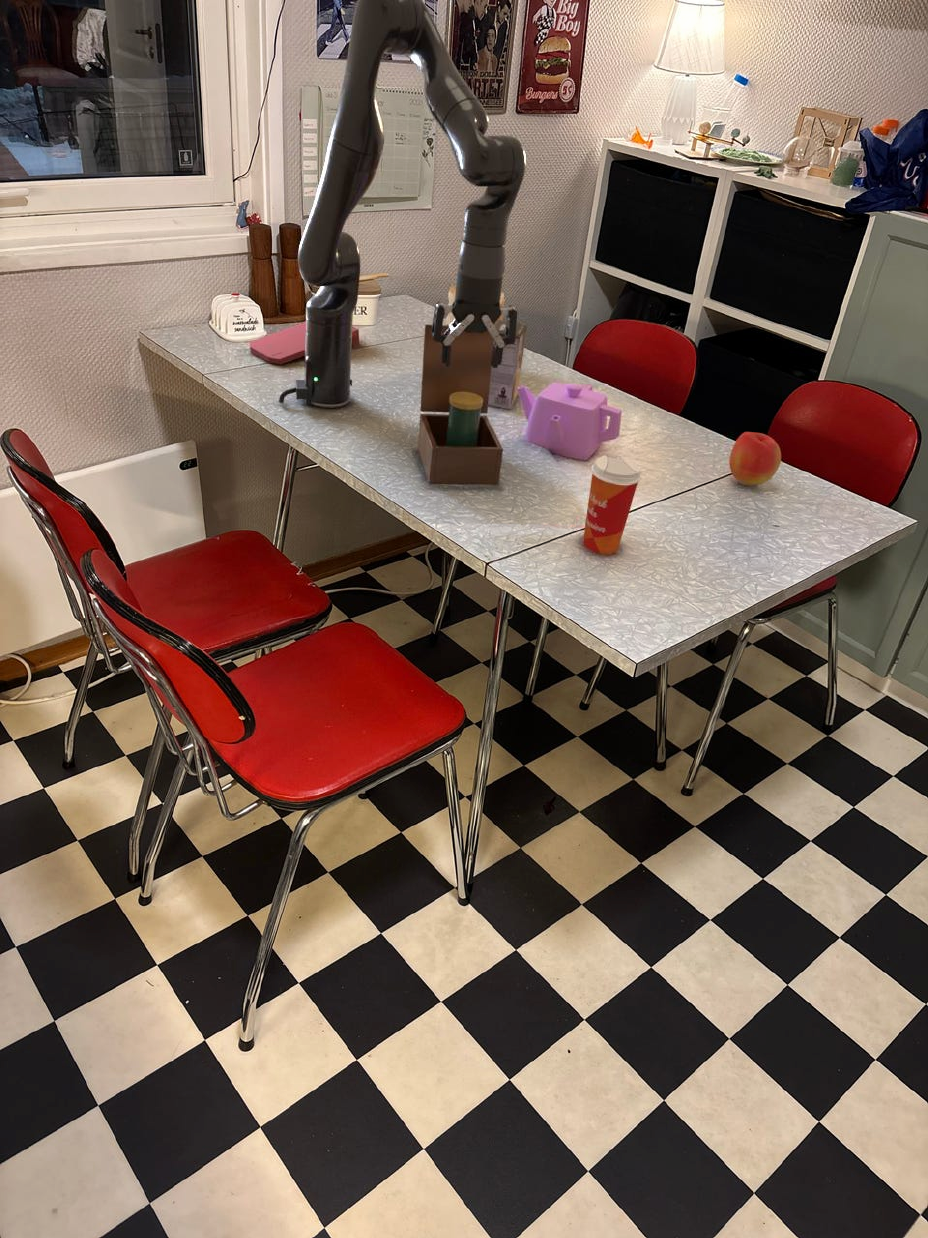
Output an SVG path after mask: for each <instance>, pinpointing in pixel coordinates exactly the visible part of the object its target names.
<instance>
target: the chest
mask: <svg viewBox="0 0 928 1238" xmlns="http://www.w3.org/2000/svg"><path fill="white" fill-rule="evenodd" d="M448 418H449V413H448V414H446V413H443V414H442V413H420V416H419V427H418V439H417V451H418V454H419V457H420V461H421V463H422V466H423V468H424V473H425V476H426V479H427V481H428V484H429V485H474V486H475V485H477V486H478V485H479V486H480V485H482V486H483V485H484V486H485V485H488V486H491V485H492V486H498V485H499V481H500V475H501V467H502V462H503V461H502V459H503V454H504V453H503V452H504V448H503V446H502V444H501V442H500V440H499V437H498V436H497V435H496V432H495V429H494V427H493V426H492V424H491V421H490V420H489V417H488V416H487V415H482V414H480V421H479V429H478V437H477V445H476V447H460V446H446V437H447V427H448Z"/></svg>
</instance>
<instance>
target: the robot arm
mask: <svg viewBox="0 0 928 1238" xmlns="http://www.w3.org/2000/svg"><path fill="white" fill-rule="evenodd" d="M351 23H352V24H351V29H350V36H349V44H348V51H347V57H346V65H345V71H344V76H343V81H342V82H343V83H342V86H341V92H340V95H339V101H338V105H337V109H336V114H335V118H334V121H333V125H332V128H331V133H330V136H329V141H328V145H327V148H326V154H325V160H324V165H323V168H322V172H321V176H320V180H319V184H318V187H317V191H316V195H315V199H314V202H313V206H312V209H311V212H310V214H309V218H308V220H307V223H306V226H305V229H304V231H303V235H302V237H301V240H300V242H299V243H300V244H299V247H298V253H297V265H298V266H297V267H298V271H299V273H300V276H301V278H302V279H303V281H304V282H305V283H306V284H307V285H309V286H311V287H315V288H319V289H318V290H317V291H316V293H315V294H314V295H313V296H312V297H310V299H309V300H307V302H306V305H305V322H306V350H305V356H304V377H303V378H304V379H295V387H291V388H289V389H285V390H284V391H283V392H282V393H280V395H279V399H278V403H280V404H284V403H285V398H286V397H287V396H289V395H291V394H295V398H296V400H304V402H305V405H310V406H314V407H317V408H324V409H337V408H342V407H345V406H347V405H349V404H350V401H351V396H350V395H351V387H353V380H352V379H351V374H352V373H351V372H352V371H351V369H352V348H353V347H352V326H353V324H354V323H353V319H354V312H355V310H356V307H357V304H358V299H359V290H360V288H359V286H360V278H361V277H360V276H361V254H360V249H359V247H358V244H357V241H356V240H355V238H354V237H353V236H352V235H350V234H349V233H348V232H345V231H343V229H344V227H345V224H346V222H347V220H348V218H349V217H350V215H351V213H352V212H353V210H354V209H355V208H356V206H357V205H358V204H359V203H360V201H361V200H362V199H363V197H364V196H365V194H366V193H367V192H368V190H369V188H370V187H371V185H372V183H373V181H374V179H375V177H376V174H377V171H378V167H379V164H380V160H381V158H382V157H381V156H382V154H383V149H384V145H385V128H384V124H383V123H384V122H383V118H382V114H381V109H380V106H379V102H378V98H377V80H378V76H379V70H380V66H381V62H382V59H383V56H384V54H385V55H395V56H405V57H407V58H408V60H410V61H411V62H412V63H413V64H414V65H415V67H417V69H418V70H419V71H420V73H421V74H422V77H423V83H424V84H423V90H424V92H423V93H424V98H425V102H426V106H427V108H428V110H429V113H430V114H431V116H432V117H433V119H434V121H435V122H436V123H437V124H438V126H439V128H440V129H441V131H442V132H443V133H444V135H445V136H446V138H447V139H448V141H449V146H450V148H451V152H452V154H453V157H454V160H455V163H456V167H457V169H458V172H459V174H460V175H461V176H462V178H463V179H464V180H465V181H466V182H467V183H469V184H470V185H472V186H474V187H480V188H485V187H486V188H485V191H484V193H483V194H482V196H481V197H479V198H477V199H475V200H473V201H470V202H469V203H468V204H467V205H466V207H465V212H464V219H463V229H462V238H461V239H462V240H461V244H460V250H459V255H458V264H457V275H456V284H455V285H456V294H455V301H454V303H453V304H452V305H448V304H443V303H442V302H441V301H437V302H436V303H435V305H434V311H433V312H434V313H433V318H432V324H431V325H432V331H431V335H432V337H433V339H434V341H436V342H440V343H441V354H440V358H441V361H442V363H444V365H445V367H449V365H450V355H451V345H450V343H451V342H452V341H453V340H454V339H455V338H456V337H458V336H459V335H460V334H461V333H462V331H465V332H466V333H472V332H477V333H484V332H486V331H488V330H489V332H490V334H491V335H492V337H493V339H494V340H495V344H493V352H492V360H491V365H492V367H493V368H497V367H498V365H500V364H501V362H502V355H503V348H504V346H506V345H508V344H511V345H512V344H514V343H515V337H516V324H517V323H518V322H517V321H518V311H517V310H516V308H515V307H514V305H511V304H510V305H508V306H507V307H503V308H500V296H501V292H502V287H503V279H504V273H505V269H506V266H505V263H506V243H507V235H508V228H509V227H508V226H509V218H510V216H511V213H512V210H513V208H514V205H515V203H516V200H517V197H518V194H519V192H520V189H521V186H522V184H523V180H524V177H525V172H526V166H527V165H526V164H527V161H526V160H527V158H526V153H525V149H524V146H523V144H522V143H521V141H520V140H519V139H518V138H516V137H515V136H512V135H486V133H487V131H488V128H489V116H488V113H487V110H486V109H485V108H484V106H483V104H482V103H481V102H480V101H479V99H478V97H477V96H476V95H475V93H474V92H473V90H472V89H471V88H470V87H469V85H468V84H467V82H466V81H465V79H464V78H463V77H462V75H461V74H460V72H459V70H458V68H457V67H456V65H455V63H454V61H453V59H452V57H451V55H450V53H449V51H448V48H447V47H446V44H445V42H444V40H443V38H442V35H440V32H439V30H438V27H437V26H436V23H435V21H434V19H433V17H432V15H431V13H430V11H429V8H428V7H427V5H426V4H425V2H424V1H423V0H357V3H356V6H355V9H354V13H353V18H352V22H351ZM451 312H452V314H453V316H454V317H455V320H454V321H453V322H452V323H451V324H450V325H449V328H448V329H447V330H446V331H445V332H444V334H442V333H441V331H442V325H444V319H446V318H447V316H448V314H449V313H451ZM501 315H503V316H502V319H504V321H506V334H505V335H504V336H500V335H499V333H498V331H497V330H496V328H495V326H494V325H493V324H494V323H495V322H496V321H497V320H498V318H499V317H500V316H501Z"/></svg>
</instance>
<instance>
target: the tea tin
mask: <svg viewBox="0 0 928 1238" xmlns="http://www.w3.org/2000/svg"><path fill="white" fill-rule="evenodd" d="M449 402H450V408H449V412H448V414H449V418H448V427H447V437H446V446H460V447H476V445H477V437H478V429H479V421H480V415H481V413H480V412H481V407H482V403H483V399H482V397H481V396H479V395H477V394H474V393H470V392H455V393H452V394H451V395H450V400H449Z"/></svg>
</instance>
